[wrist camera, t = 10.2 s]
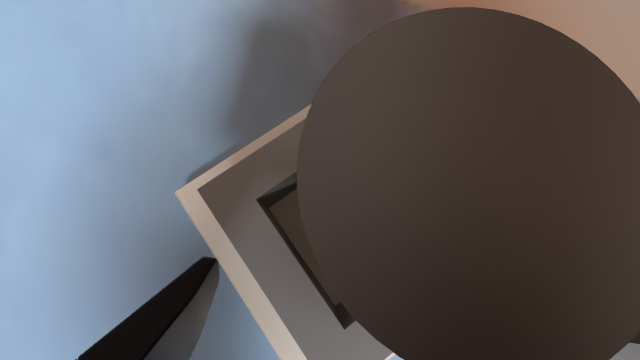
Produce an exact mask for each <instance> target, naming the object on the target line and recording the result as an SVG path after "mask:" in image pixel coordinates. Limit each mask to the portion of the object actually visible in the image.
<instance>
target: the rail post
mask: <svg viewBox="0 0 640 360" xmlns="http://www.w3.org/2000/svg"><path fill="white" fill-rule="evenodd" d="M297 195H298V201H299V207H300V213H301V220H302V223H303V226H304V230H305V233H306V236H307V240H308V243H309V246H310V248H311V251H312V253H313V255H314V257H315V260H316V262H317V264H318V266H319V269H320V271H321V273H322V274H323V276H324V277H325V279H326V281H327V282H328V284H329V286H330V287H331V289H332V291H333V292H334V294H335V296H336V297H337V298H338V299H339V301H340V302H341V303H342V304H343V306H344V307H345V308H346V309H347V311H348V312H349V313H350V314H351V316H352V317H353V318H354V319H355V320H356V321H357V322H358V323H359V324H360V325H361V326H362V327H363V328H364V329H365V330H366V331H367V332H368V333H369V334H370V335H372V336H373V337H374V338H375V339H376V340H377V341H379V342H380V343H381V344H383V345H384V346H385V347H387V348H388V349H389V350H391V351H392V352H393V353H395V354H396V355H398V356H399V357H401V358H402V359H404V360H609V359H611V358H612V357H613V356H614V355H615V354H616V353H618V352H619V351H620V350H621V349H622V348H623V347H625V346H626V345H627V344H628V343H629V342H630V341H631V340H632V339H633V338H634V337H635V335H636V334H637V333H638V332H639V331H640V104H639V102H638V101H637V99H636V98H635V96H634V95H633V93H632V92H631V91H630V90H629V89H628V88H627V86H626V85H625V84H624V83H623V82H622V81H621V80H620V78H619V77H618V76H617V75H616V74H615V73H614V72H613V71H612V70H611V69H610V68H609V67H608V66H607V65H606V64H604V63H603V62H602V61H601V60H600V59H599V58H598V57H596V56H595V55H594V54H593V53H591V52H590V51H589V50H587V49H586V48H585V47H583V46H582V45H581V44H579V43H578V42H576V41H574V40H572V39H571V38H569V37H568V36H566V35H564V34H563V33H561V32H559V31H557V30H555V29H553V28H551V27H548V26H546V25H544V24H542V23H540V22H537V21H534V20H531V19H528V18H526V17H522V16H520V15H516V14H512V13H508V12H503V11H499V10H492V9H483V8H474V7H470V8H469V7H467V8H445V9H437V10H430V11H426V12H422V13H418V14H414V15H410V16H407V17H405V18H402V19H400V20H397V21H395V22H392V23H390V24H388V25H386V26H384V27H382V28H381V29H379V30H377V31H375V32H373V33H371V34H370V35H369V36H367V37H366V38H365V39H363V40H362V41H361V42H359V43H358V44H357V45H355V46H354V47H353V48H352V49H351V50H350V51H349V52H348V53H347V54H346V55H345V56H344V57H343V58H342V59H341V60H340V61H339V62H338V63H337V64H336V65H335V67H334V68H333V69H332V71H331V72H330V73H329V74H328V76H327V77H326V78H325V80H324V82H323V83H322V85H321V87H320V89H319V90H318V92H317V94H316V95H315V97H314V99H313V102H312V104H311V107H310V109H309V112H308V114H307V117H306V119H305V122H304V126H303V130H302V134H301V138H300V142H299V150H298V160H297Z"/></svg>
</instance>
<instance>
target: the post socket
mask: <svg viewBox="0 0 640 360" xmlns="http://www.w3.org/2000/svg"><path fill="white" fill-rule="evenodd" d="M310 107H311V104H310V105H309V106H307V107H306V108H304V109H303V110H301V111H299V112H298V113H296V114H295V115H293V116H292V117H290V118H289V119H287V120H286V121H284V122H282V123H281V124H279V125H278V126H276V127H275V128H273V129H272V130H270V131H268V132H267V133H265V134H264V135H262V136H261V137H259V138H258V139H256V140H255V141H253V142H251V143H250V144H248V145H247V146H245V147H244V148H242V149H241V150H239V151H237V152H236V153H234V154H233V155H231V156H230V157H228V158H227V159H225V160H224V161H222V162H220V163H219V164H217V165H216V166H214V167H213V168H211V169H210V170H208V171H206V172H205V173H203V174H202V175H200V176H199V177H197V178H196V179H194V180H193V181H191V182H189V183H188V184H186V185H185V186H183V187H182V188H180V189H179V190H177V191H175V192H174V193H175V194H176V196H177V197H178V199H179V200H180V202H181V204H182V205H183V207H184V208H185V210H186V211H187V213H188V215H189V216H190V218H191V219H192V221H193V222H194V224H195V226H196V227H197V229H198V230H199V232H200V233H201V235H202V237H203V238H204V240H205V241H206V243H207V244H208V246H209V248H210V249H211V251H212V252H213V254H214V256H215V257H216V259H217V260H218V262H219V263H220V265H221V267H222V268H223V270H224V271H225V273H226V274H227V276H228V278H229V279H230V281H231V282H232V284H233V285H234V287H235V289H236V290H237V292H238V293H239V295H240V296H241V298H242V300H243V301H244V303H245V304H246V306H247V307H248V309H249V311H250V312H251V314H252V315H253V317H254V318H255V320H256V322H257V323H258V325H259V326H260V328H261V329H262V331H263V333H264V334H265V336H266V337H267V339H268V340H269V342H270V344H271V345H272V347H273V348H274V350H275V351H276V353H277V355H278V356H279V358H280V359H281V360H390V359H391V358H392V357H393V356H395V355H396V354H395V353H393V352H392V351H391V350H389V349H388V348H387V347H385V346H384V345H383V344H381V343H380V342H379V341H377V340H376V339H375V338H374V337H373V336H372V335H370V334H369V333H368V332H367V331H366V330H365V329H364V328H363V327H362V326H361V325H360V324H359V323H358V322H357V321H356V320H355V319H354V318H353V317H352V316H351V314H350V313H349V312H348V311H347V309H346V308H345V307H344V306H343V304H342V303H341V302H340V301H339V299H338V298H337V297H336V296H335V294H334V292H333V291H332V289H331V287H330V286H329V284H328V282H327V281H326V279H325V277H324V276H323V274H322V273H321V271H320V269H319V266H318V264H317V262H316V260H315V257H314V255H313V253H312V251H311V248H310V246H309V243H308V240H307V236H306V233H305V230H304V226H303V223H302V220H301V213H300V207H299V201H298V195H297V160H298V150H299V142H300V138H301V134H302V130H303V126H304V122H305V119H306V117H307V114H308V112H309V109H310Z"/></svg>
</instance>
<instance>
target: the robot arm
mask: <svg viewBox="0 0 640 360" xmlns="http://www.w3.org/2000/svg"><path fill="white" fill-rule="evenodd" d="M218 281H219V267H218V260H217V259H216V258H212V257H202V258H201V259H199V260H198V261H197V262H196V263H194V264H193V265H192V266H191V267H189V268H188V269H187V270H186V271H185V272H183V273H182V274H181V275H180V276H178V277H177V278H176V279H175V280H173V281H172V282H171V283H170V284H168V285H167V286H166V287H165V288H163V289H162V290H161V291H160V292H158V293H157V294H156V295H155V296H153V297H152V298H151V299H150V300H149V301H147V302H146V303H145V304H144V305H142V306H141V307H140V308H139V309H137V310H136V311H135V312H134V313H132V314H131V315H130V316H129V317H127V318H126V319H125V320H124V321H122V322H121V323H120V324H119V325H117V326H116V327H115V328H114V329H112V330H111V331H110V332H109V333H108V334H106V335H105V336H104V337H103V338H101V339H100V340H99V341H98V342H96V343H95V344H94V345H93V346H91V347H90V348H89V349H88V350H86V351H85V352H84V353H83V354H81V355H80V356H79V358H78V360H189V359H190V356H191V354H192V352H193V350H194V348H195V346H196V343H197V341H198V339H199V337H200V334H201V331H202V329H203V326H204V323H205V320H206V317H207V314H208V311H209V308H210V305H211V302H212V299H213V296H214V294H215V291H216V288H217V285H218ZM76 360H77V359H76Z"/></svg>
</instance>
